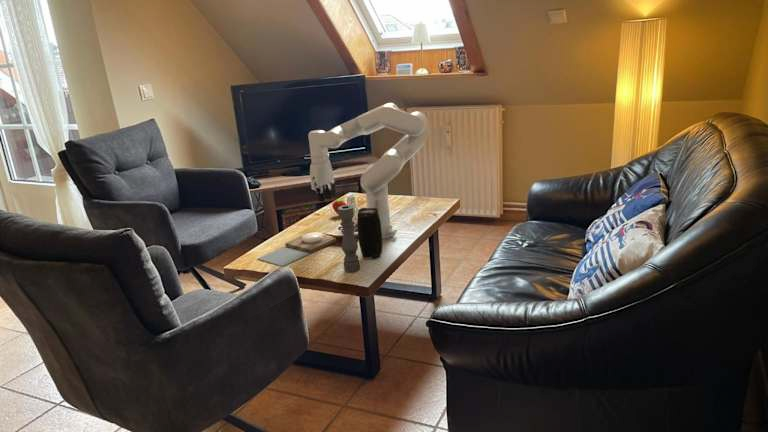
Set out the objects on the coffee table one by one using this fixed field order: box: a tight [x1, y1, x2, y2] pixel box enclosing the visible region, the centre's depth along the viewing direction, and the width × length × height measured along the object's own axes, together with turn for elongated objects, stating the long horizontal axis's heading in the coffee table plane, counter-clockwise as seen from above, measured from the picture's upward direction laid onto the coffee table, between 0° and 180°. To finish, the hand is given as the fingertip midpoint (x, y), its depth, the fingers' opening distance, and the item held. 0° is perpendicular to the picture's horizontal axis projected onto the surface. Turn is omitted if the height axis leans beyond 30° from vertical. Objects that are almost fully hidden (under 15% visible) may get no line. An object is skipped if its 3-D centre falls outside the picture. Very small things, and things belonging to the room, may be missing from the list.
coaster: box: [301, 231, 324, 243], centre depth 242 cm, size 9×9×2 cm
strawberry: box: [332, 196, 347, 216], centre depth 276 cm, size 6×8×10 cm
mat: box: [257, 246, 311, 267], centre depth 231 cm, size 16×15×1 cm
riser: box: [284, 232, 337, 254], centre depth 242 cm, size 16×15×2 cm
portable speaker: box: [356, 207, 383, 260], centre depth 220 cm, size 9×9×20 cm
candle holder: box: [337, 204, 361, 274], centre depth 208 cm, size 6×6×25 cm
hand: (325, 199), depth 245 cm, fingers open, 3 cm apart
